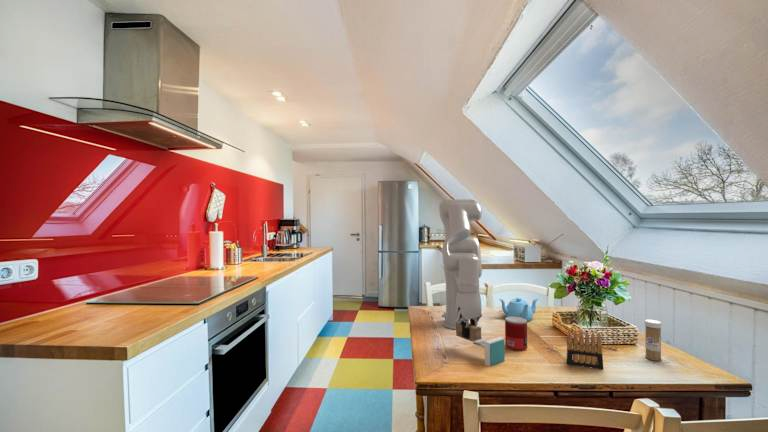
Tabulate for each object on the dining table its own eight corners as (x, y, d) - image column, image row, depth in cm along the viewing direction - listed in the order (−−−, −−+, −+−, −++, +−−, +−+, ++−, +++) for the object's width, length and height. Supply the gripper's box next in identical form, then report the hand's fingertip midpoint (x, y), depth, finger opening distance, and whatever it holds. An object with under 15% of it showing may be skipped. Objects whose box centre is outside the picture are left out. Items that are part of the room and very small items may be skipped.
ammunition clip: (602, 367, 112) (601, 331, 112) (603, 369, 111) (603, 333, 111) (566, 362, 116) (566, 328, 116) (567, 364, 115) (566, 329, 115)
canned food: (529, 352, 125) (529, 322, 125) (507, 350, 127) (506, 321, 127) (524, 344, 133) (524, 316, 133) (504, 343, 135) (503, 315, 135)
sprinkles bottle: (643, 358, 119) (643, 320, 119) (646, 354, 122) (646, 318, 122) (660, 362, 115) (659, 323, 115) (662, 358, 118) (662, 321, 118)
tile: (484, 364, 115) (484, 341, 115) (499, 358, 120) (499, 336, 120) (490, 366, 113) (490, 343, 114) (505, 361, 118) (504, 338, 118)
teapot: (511, 312, 177) (511, 293, 177) (540, 318, 166) (540, 298, 166) (498, 318, 167) (498, 298, 167) (528, 325, 156) (528, 303, 156)
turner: (453, 336, 129) (453, 323, 130) (464, 333, 133) (463, 320, 133) (486, 348, 116) (485, 334, 116) (497, 344, 119) (497, 330, 119)
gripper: (475, 284, 134) (476, 329, 134) (446, 289, 125) (446, 337, 125) (490, 287, 128) (491, 335, 128) (460, 292, 119) (461, 344, 119)
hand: (469, 335), depth 126 cm, fingers closed on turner, 3 cm apart
